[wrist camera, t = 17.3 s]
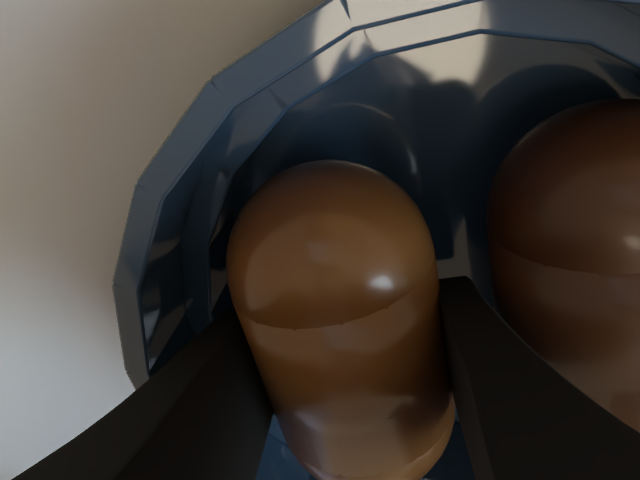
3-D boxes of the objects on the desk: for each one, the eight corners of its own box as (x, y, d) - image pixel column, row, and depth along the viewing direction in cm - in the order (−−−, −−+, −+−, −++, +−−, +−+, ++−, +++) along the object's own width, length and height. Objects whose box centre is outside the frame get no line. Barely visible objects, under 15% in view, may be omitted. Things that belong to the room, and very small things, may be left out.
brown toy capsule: (622, 353, 13) (760, 486, 9) (477, 389, 13) (558, 535, 9) (641, 60, 9) (869, 89, 6) (446, 111, 10) (552, 170, 6)
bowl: (700, 416, 14) (827, 588, 10) (274, 442, 16) (240, 586, 13) (794, -128, 8) (1184, -235, 4) (120, 50, 11) (-30, 87, 7)
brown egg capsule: (452, 389, 13) (477, 537, 10) (312, 400, 14) (287, 540, 10) (413, 116, 10) (430, 191, 6) (231, 153, 11) (156, 236, 7)
